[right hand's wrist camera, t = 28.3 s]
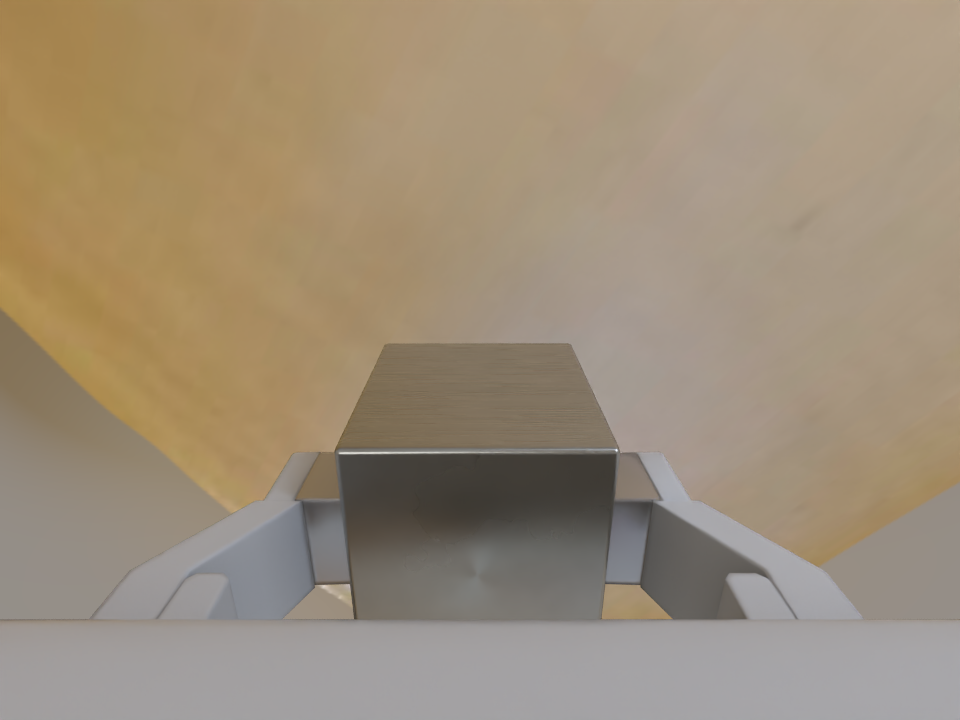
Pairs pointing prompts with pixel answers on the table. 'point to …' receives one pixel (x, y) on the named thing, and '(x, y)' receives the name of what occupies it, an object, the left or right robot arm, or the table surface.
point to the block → (477, 485)
